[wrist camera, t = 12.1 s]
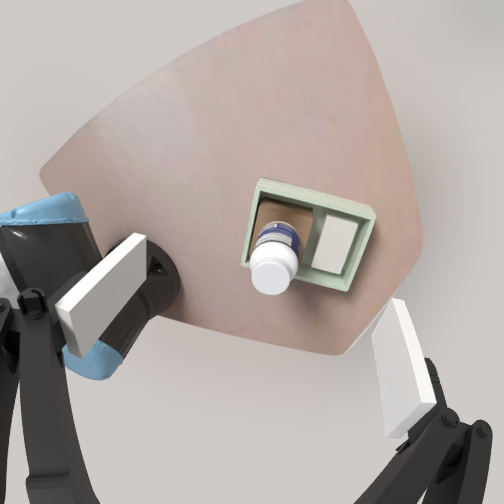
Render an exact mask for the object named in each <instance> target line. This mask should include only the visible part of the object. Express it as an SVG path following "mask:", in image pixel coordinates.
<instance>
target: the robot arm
mask: <svg viewBox="0 0 504 504" xmlns="http://www.w3.org/2000/svg"><path fill="white" fill-rule="evenodd" d="M88 222H89V219H88V218H87V217H86V215H85V213H84V211H83V208H82V206H81V203H80V201H79V199H78V197H77V196H76V195H75V194H73V193H71V192H63V193H60V194H56V195H53V196H50V197H47V198H44V199H41V200H38V201H35V202H32V203H29V204H27V205H23V206H21V207H18V208H15V209H13V210H10V211H7V212H5V213H2V214H1V215H0V225H1V227H0V504H4V501H5V494H6V473H7V457H8V446H9V437H10V429H11V421H12V415H13V409H14V404H15V398H16V393H17V388H18V383H19V379H20V402H21V415H22V426H23V434H24V442H25V448H26V455H27V461H28V465H29V473H30V474H29V476H28V477H27V478H26V489H27V494H28V498H29V501H30V504H100V502H99V500H98V499H97V497H96V495H95V493H94V491H93V489H92V486H91V483H90V480H89V477H88V473H87V470H86V467H85V463H84V460H83V456H82V453H81V449H80V445H79V441H78V437H77V433H76V429H75V424H74V420H73V415H72V410H71V404H70V399H69V393H68V387H67V380H66V373H65V367H67V368H68V369H70V370H72V371H73V372H75V373H77V374H79V375H81V376H83V377H85V378H88V379H93V380H105V379H107V378H109V377H110V376H112V374H113V373H114V372H115V370H116V369H117V368H118V366H119V365H121V364H122V362H123V360H124V359H125V357H126V355H127V354H128V352H129V350H130V349H131V347H132V346H133V344H134V342H135V341H136V339H137V338H138V336H139V334H140V333H141V331H142V330H143V328H144V327H145V325H146V323H147V322H148V321H149V320H150V319H152V318H153V317H155V316H156V315H158V314H159V313H161V312H163V311H165V310H166V309H167V308H168V307H169V306H170V305H171V304H172V302H173V301H174V299H175V298H176V296H177V294H178V291H179V276H178V272H177V269H176V267H175V265H174V263H173V262H172V260H171V259H170V257H169V256H168V255H167V254H166V253H165V252H164V251H163V250H162V249H161V248H160V247H159V246H157V245H156V244H154V243H152V242H151V241H148V240H146V236H145V235H141V234H137V233H133V234H132V235H131V236H130V237H128V238H124V239H121V240H120V241H118V242H117V243H116V244H115V245H113V246H112V247H111V248H110V249H109V250H108V252H107V253H106V255H105V257H104V259H103V258H102V256H101V254H100V251H99V249H98V246H97V244H96V241H95V239H94V236H93V234H92V231H91V228H90V226H89V223H88ZM371 338H372V344H373V349H374V355H375V361H376V367H377V374H378V381H379V387H380V395H381V402H382V410H383V420H384V429H385V438H401V437H402V436H403V435H404V434H405V433H407V432H408V437H409V439H408V440H406V441H405V442H404V443H403V444H402V445H400V446H399V447H398V448H397V449H396V451H398V452H397V453H396V454H395V456H394V457H393V458H392V460H391V461H390V462H389V463H388V465H387V466H386V467H385V468H384V470H383V471H382V472H381V473H380V475H379V476H378V477H377V478H376V479H375V481H374V482H373V483H372V484H371V485H370V486H369V488H368V489H367V490H366V491H365V492H364V493H363V494H362V495H361V496H360V497H359V499H357V500H356V502H355V503H354V504H417V502H418V501H419V499H420V498H421V496H422V495H423V493H424V492H425V490H426V489H427V490H426V493H425V496H424V499H423V502H422V504H482V501H483V497H484V492H485V487H486V482H487V476H488V470H489V463H490V455H491V447H492V436H493V435H492V429H491V427H490V425H489V424H488V423H487V422H485V421H484V420H477V421H476V422H475V423H474V424H472V425H468V424H465V423H462V422H460V420H459V417H458V415H457V414H456V412H455V411H454V410H452V409H450V408H447V405H446V401H445V397H444V394H443V390H442V387H441V384H440V380H439V377H438V374H437V370H436V367H435V366H434V364H433V363H432V361H431V360H430V359H429V358H424V357H423V354H422V350H421V347H420V344H419V342H418V338H417V336H416V332H415V330H414V327H413V324H412V321H411V319H410V316H409V313H408V310H407V308H406V305H405V303H404V300H399V299H395V298H391V300H390V302H389V304H388V306H387V308H386V310H385V311H384V313H383V315H382V317H381V319H380V321H379V323H378V324H377V326H376V328H375V330H374V332H373V334H372V335H371ZM427 487H428V488H427Z"/></svg>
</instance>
